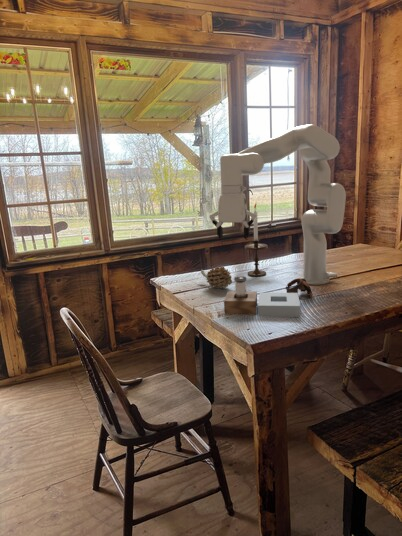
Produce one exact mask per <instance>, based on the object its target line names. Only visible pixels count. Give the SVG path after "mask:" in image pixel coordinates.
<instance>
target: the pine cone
mask: <svg viewBox="0 0 402 536" xmlns="http://www.w3.org/2000/svg"><path fill="white" fill-rule="evenodd" d="M200 272H201V275H202V276H203V277H205V279H206V283H208V284H209V286H210V287H211V288H213V287H214V288H215V289H218V288H219V289H223V288H225V289H226V288H227V287H229V286H230V285H231V284H232V283H233V280H232V275H231V274H232V272H230V270H229V268H227V269H226V268H225V266H220V267H219V266H216V267H215V268H212V269H210V270H209V271H207V274H206V272H205V270H203V269H201V270H200Z"/></svg>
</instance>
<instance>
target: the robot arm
mask: <svg viewBox="0 0 402 536" xmlns="http://www.w3.org/2000/svg"><path fill="white" fill-rule="evenodd" d="M340 146H341V145H340V143H339V140H338V139H337V138H336V137H335V136H334V135H332V134H331V133H330V132H328V131H326V130H324V129H323V128H321V127H320V126H318V125H315V124H312V123H311V124H304V125H299V126H296V127H291V128H289V129H287V130H285V131H283V132H281V133H279V134H278V135H276V136H273V137H271V138H270V139H267V140H264V141H263V142H259V143H258V144H256V145H253V146H249V147H247V148H245V149H243V150H242V151H239V152H238V153H229V154H228V153H227V154H222V155H221V156H220V159H219V163H220V166H219V168H220V190H221V194H220V195H219V198H218V208H217V211H215V212H213V213H212V214H210V215H209V219H210V221H211V223H212V224H213V225H214V226H215V228H216V235H217V237H218V239H219V240H220V239H222V238H223V237H224V233H223V226H222V225H223V224H225V223H227V224H230V223H238V224H239V223H242V225H243V226H244V228H243V238H244V239H245V240H247V239H248V238H249V236H250V227H251V225H253V224H254V220H255V218H256V216H257V217H258V214H257V215H256V214H254V213H253V212H252V211H250V210H248V205H247V203H248V202H247V197H246V194H245V193H244V191H247V186H244V185H243V176H253V175H258V174H259V173H261V171H262V170H263V168H264V166H265V165H267V164H271V163H274V162H278V161H281V160H283V159H285V158H286V157H288V156H290V155H291V154H293V153H296V152H297V151H298V152H299V157H300V158H301V159H302V160H303V161H304V163H305V164H306V166H307V168H308V171H309V176H308V177H309V178H308V188H307V202H308V204H309V205H310V206H314V207H325V208H326V209H317V208H316V209H313V208H312V209H309V210H306V211H305V212H304V213H303V214H302V216H301V220H300V221H301V223H300V224H301V227H302V228H301V229H302V235H303V276H300V278H301V279H302V278H304V279H305V280H306V282H307V283H308V284H309V285H312V286H313V285H315V286H318V285H325V284H328V283H330V278H335V279H336V278H338V272H333V271H331V272H328V270H327V245H328V244H327V238H326V235H325V234H332V235H333V234H337V233H339V232H340V231H341V230H342V227H343V223H344V219H345V208H346V200H347V192H346V190H345V188H344V186H343V185H342V184H341V183H337V182H331V173H332V172H331V171H332V170H331V168H330V164H329V163H328V162H327V161H329V160H333V159H335V158H336V157H337V156H338V155H339V153H340V150H341V149H340V148H341V147H340ZM216 217H217V218H218V219H217V220H218V221H217V220H216ZM248 217H250V220H249V221H248Z"/></svg>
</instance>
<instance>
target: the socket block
mask: <svg viewBox="0 0 402 536" xmlns="http://www.w3.org/2000/svg"><path fill="white" fill-rule="evenodd" d="M258 296H259V297H258V302H257V311H258V312H257V313H258V314H257V315H258V317H266V318H267V317H268V318H270V317H272V318H274V317H276V318H277V317H279V318H301V303H300V299H299V292H298V293H286V292H259V295H258Z"/></svg>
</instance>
